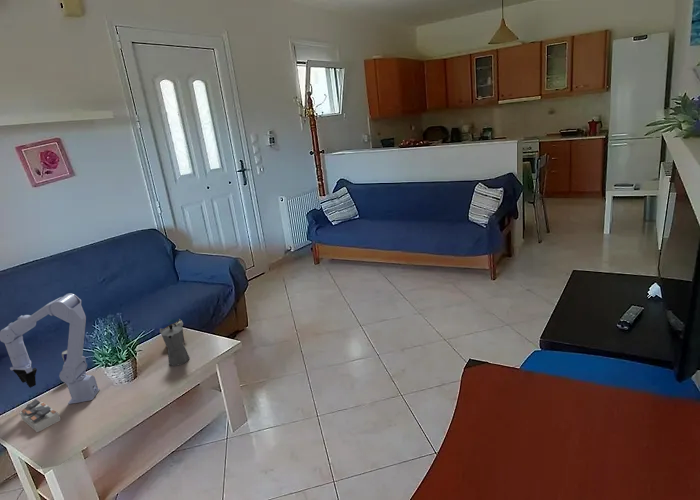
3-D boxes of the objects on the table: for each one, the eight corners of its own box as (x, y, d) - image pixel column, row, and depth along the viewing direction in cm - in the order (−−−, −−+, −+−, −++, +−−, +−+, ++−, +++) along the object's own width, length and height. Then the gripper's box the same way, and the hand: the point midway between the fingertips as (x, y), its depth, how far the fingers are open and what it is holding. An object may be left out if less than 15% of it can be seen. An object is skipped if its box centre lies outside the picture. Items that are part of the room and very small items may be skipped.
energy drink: (76, 378, 202) (68, 354, 199) (66, 378, 204) (58, 354, 200) (85, 371, 207) (77, 348, 204) (75, 371, 209) (67, 348, 205)
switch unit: (44, 407, 181) (42, 401, 180) (60, 419, 172) (58, 412, 171) (22, 419, 175) (19, 412, 174) (37, 432, 166) (34, 425, 165)
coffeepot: (188, 365, 201) (179, 328, 196) (166, 370, 199) (156, 333, 194) (191, 349, 215) (183, 315, 210) (171, 354, 214) (162, 319, 209)
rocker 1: (37, 400, 178) (35, 398, 177) (41, 403, 176) (38, 400, 175) (23, 413, 174) (20, 410, 174) (26, 416, 172) (23, 413, 171)
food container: (171, 349, 218) (166, 330, 216) (163, 347, 222) (158, 329, 219) (192, 338, 228) (187, 320, 225) (184, 336, 231) (179, 318, 229)
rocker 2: (42, 408, 175) (42, 404, 175) (46, 411, 173) (46, 407, 173) (24, 414, 171) (24, 410, 170) (28, 417, 168) (27, 413, 168)
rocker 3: (47, 409, 172) (45, 406, 172) (51, 412, 170) (49, 408, 169) (31, 420, 168) (29, 417, 167) (35, 423, 166) (32, 420, 165)
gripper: (0, 354, 180) (11, 384, 184) (12, 362, 171) (24, 393, 175) (20, 346, 185) (30, 375, 189) (33, 354, 177) (44, 384, 180)
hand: (29, 383), depth 183 cm, fingers open, 7 cm apart
